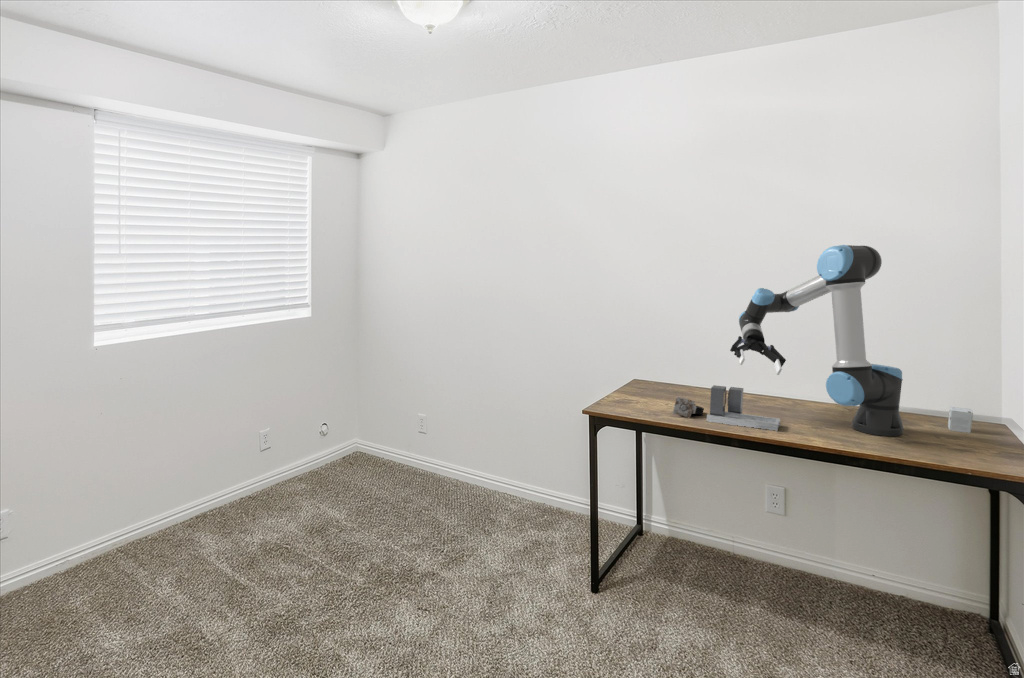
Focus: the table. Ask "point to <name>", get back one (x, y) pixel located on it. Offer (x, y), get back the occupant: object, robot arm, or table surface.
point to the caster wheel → (686, 407)
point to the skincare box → (960, 419)
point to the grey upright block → (735, 400)
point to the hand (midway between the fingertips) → (760, 366)
